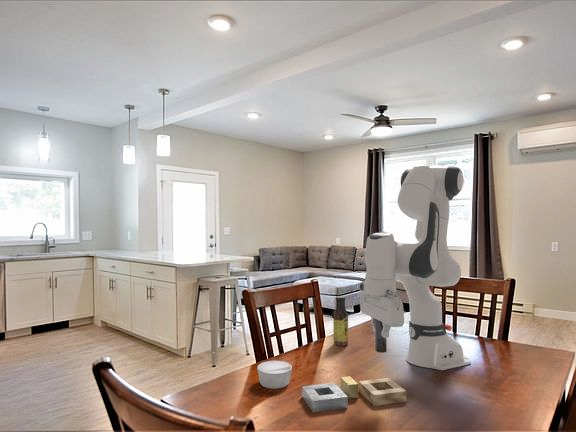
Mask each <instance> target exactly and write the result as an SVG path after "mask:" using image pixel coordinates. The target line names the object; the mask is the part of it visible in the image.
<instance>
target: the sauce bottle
mask: <svg viewBox="0 0 576 432" xmlns="http://www.w3.org/2000/svg"><path fill="white" fill-rule="evenodd" d="M335 302H336V303H335V304H336V305H335V309H334V311H333V320H332V321H333V325H332V327H333V329H332V330H333V344H334V345H335V346H339V347H343V346H348V345H349V315H348V311H347V308H346V296H344V295H337V296H335Z"/></svg>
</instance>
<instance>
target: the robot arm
mask: <svg viewBox="0 0 576 432" xmlns="http://www.w3.org/2000/svg"><path fill="white" fill-rule="evenodd" d="M464 182H465V181H464V174H463V171H462V170H461V169H460V167H457V166H452V165H451V166H450V165H449V166H445V165H444V166H442V165H431V166H429V165H426V164H416V165H415V166H413V167H409V168H407V169H405V170H403V172H402V173H401V177H400V190H399V192H398V195H397V205H398V208H399V209H400V211H401V212H402V213H403V214H404V215H405V216H407V217H408V218H410V219H412V220H416V224H415V225H416V226H415V232H414V236H415V239H416V240H417V242H416V243H400V242H397V241H396V240H395V237H394V234H393V233H391V232H385V231H383V232H381V231H380V232H375V233H371V234H370V235H368V236H367V238H366V243H365V250H364V251H365V252H364V253H365V254H364V255H365V257H364V259H365V260H364V261H365V266H366V273H365V279H364V280H363V281H362V282H359V283H358V290H359V291H360V292H359V307H360V311H361V313H362V314H363V315H367V316H368V317H371V318H370V321H371V324H372V327H373V328H372V329H373V333H374V334H375V319H377V320H379V321H381V322H382V326H383V330H382V331H381V336H382V337H384V338H387V339H388V338H389V337H390V331H391V328H399V327H403V326H404V325H405V311H404V304H403V301H402V299H401V297H400V296H399V293H398V292H397V280H398V281H400V283H401V284H402V286H403V287H404V290H405V292H406V294H407V298H408V303H409V315H410V316H409V319H410V320H409V321H408V322H409V323H408V333H409V334H408V335H409V344H408V350H407V355H406V358H405V360H406V362H408V363H409V364H411V365H414V366H417V367H421V368H428V369H435V370H438V371H445V370H450V369H455V368H459V367H462V366H464V367H465V366H468V365H471V360H470V358H469V357H468V356H465V355H464V350H463V347H462V345H461V344H460V342H458V341H457V340H456V339H454V338H453V337H452V336H451V335H449V334H448V333H447V331H448V332H451V331H452V330H453V326H452V325H451V324H448V323H447V324H445V323H443V309H442V308H443V305H442V302H441V299H439V298H438V296H436V295H434V293H433V292H432V291H431V289H430V286H432V287H439V288H443V287H444V288H445V287H453V286H455V285H457V283H459V280H460V279H461V275H462V268H461V265H460V263H459V262H458V261H457V259H455V258H454V257H453V256H452V254H451V252H450V250H449V248H448V243H447V242H448V226H449V220H450V201H451V200H453V199H454V197H456V196H458V195H459V194H460V193H461V191H462V189H463V186H464Z"/></svg>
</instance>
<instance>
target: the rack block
mask: <svg viewBox="0 0 576 432" xmlns="http://www.w3.org/2000/svg"><path fill="white" fill-rule="evenodd" d="M358 393H360V394H361V395H362V396H363V397H364V398H365V399H366V400H367V401H368V402H369V403H370V404H372V405H373V406H374V407H377V406H383V405H384V406H385V405H390V404H391V405H393V404H399V403H405V402H407V390H406V389H404V388H403V387H402V386H400V385H399V384H397V383H396V382H395V381H393V380H392V379H391V378H390V377H384V378H377V379H375V378H373V379H368V380H367V379H366V380H360V381H359V380H358Z"/></svg>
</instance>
